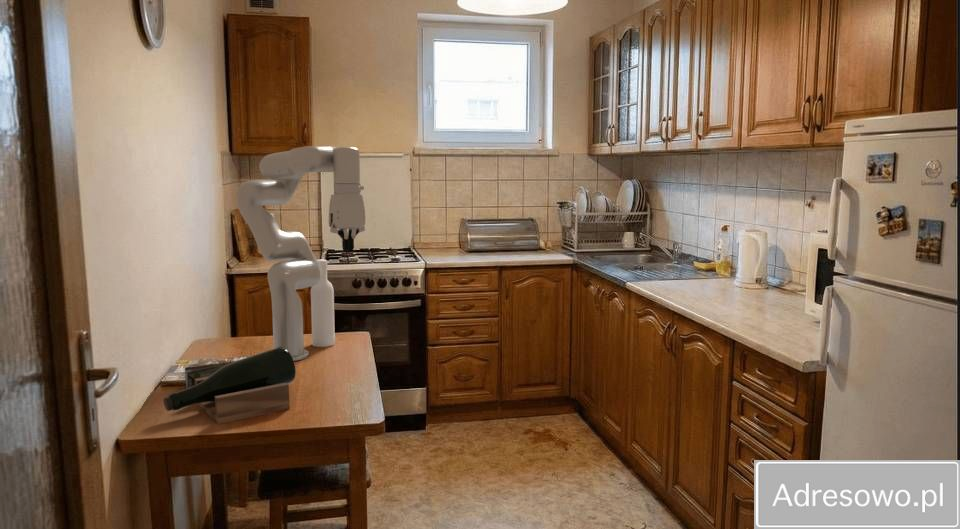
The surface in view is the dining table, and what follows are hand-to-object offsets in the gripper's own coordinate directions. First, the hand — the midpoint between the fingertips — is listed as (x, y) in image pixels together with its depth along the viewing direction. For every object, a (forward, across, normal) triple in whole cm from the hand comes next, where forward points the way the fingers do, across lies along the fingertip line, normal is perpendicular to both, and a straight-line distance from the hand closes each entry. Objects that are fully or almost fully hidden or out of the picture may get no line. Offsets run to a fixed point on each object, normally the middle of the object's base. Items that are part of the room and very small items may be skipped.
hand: (348, 251), depth 203 cm
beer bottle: (+29, +22, +6) cm, 37 cm away
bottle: (+37, -8, -36) cm, 52 cm away
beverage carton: (+38, +35, -11) cm, 52 cm away
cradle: (+37, +36, +9) cm, 52 cm away
